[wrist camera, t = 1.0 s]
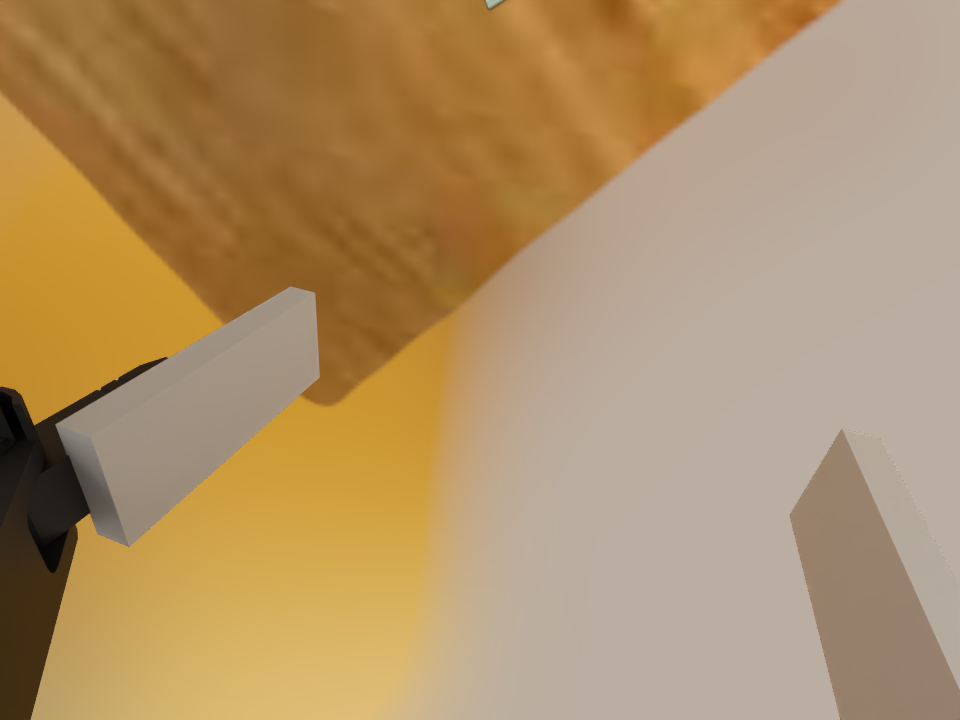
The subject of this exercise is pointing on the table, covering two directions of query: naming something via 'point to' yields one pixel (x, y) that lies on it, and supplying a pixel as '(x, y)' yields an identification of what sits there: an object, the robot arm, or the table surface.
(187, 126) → the table surface
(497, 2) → the mat
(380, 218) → the table surface
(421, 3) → the table surface
